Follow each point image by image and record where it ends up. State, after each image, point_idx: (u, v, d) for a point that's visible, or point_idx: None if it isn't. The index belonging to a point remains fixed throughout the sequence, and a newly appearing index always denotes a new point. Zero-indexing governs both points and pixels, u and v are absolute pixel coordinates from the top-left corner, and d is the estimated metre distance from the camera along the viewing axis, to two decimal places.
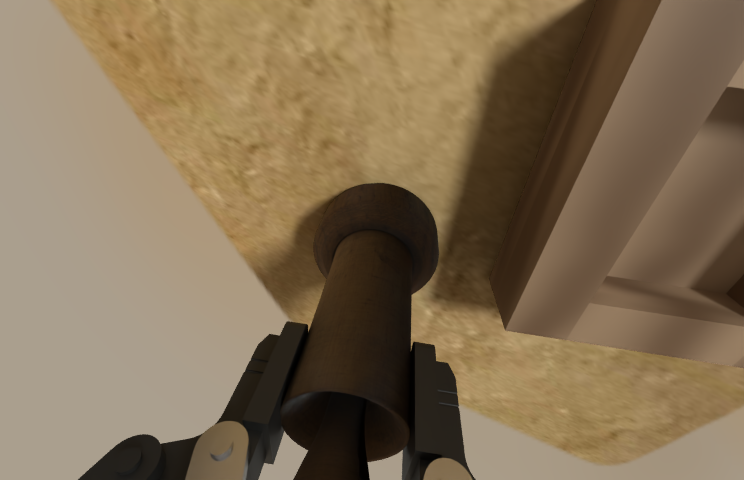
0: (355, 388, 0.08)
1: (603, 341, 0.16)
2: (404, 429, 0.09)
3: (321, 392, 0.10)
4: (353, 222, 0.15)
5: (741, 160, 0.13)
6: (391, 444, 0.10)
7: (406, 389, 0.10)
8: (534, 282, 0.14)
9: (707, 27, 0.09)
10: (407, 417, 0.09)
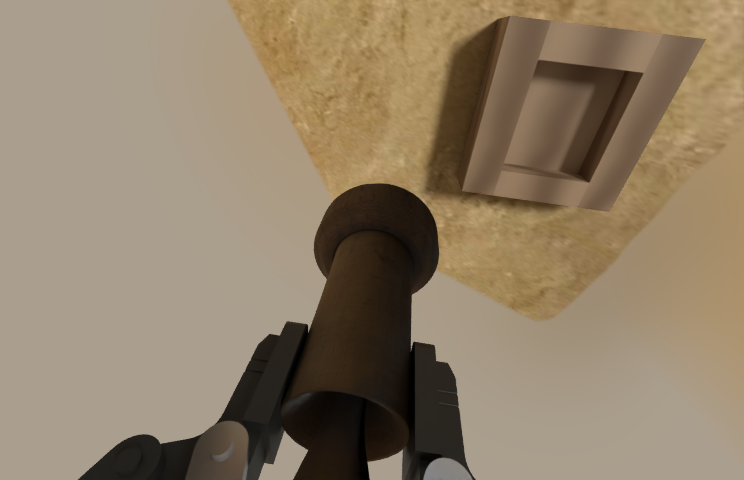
0: (355, 388, 0.08)
1: (511, 194, 0.31)
2: (404, 429, 0.09)
3: (321, 392, 0.11)
4: (353, 222, 0.15)
5: (567, 97, 0.28)
6: (390, 444, 0.10)
7: (406, 389, 0.10)
8: (473, 159, 0.29)
9: (525, 36, 0.24)
10: (407, 417, 0.09)
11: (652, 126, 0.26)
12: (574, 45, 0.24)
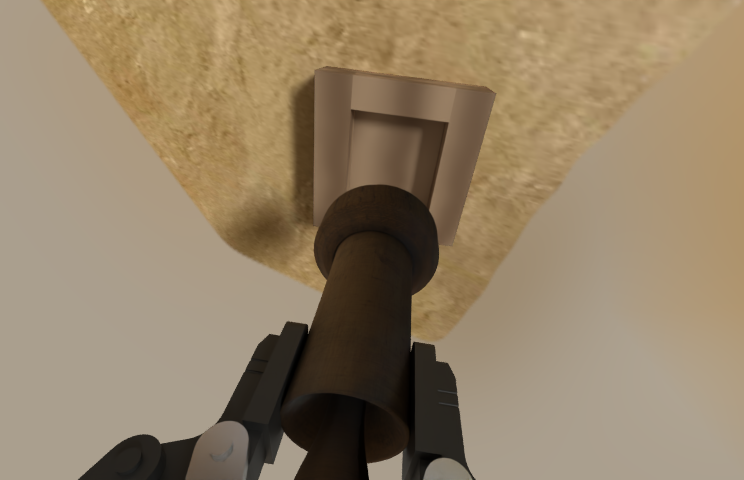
0: (354, 390, 0.08)
1: None
2: (404, 431, 0.09)
3: (321, 393, 0.11)
4: (353, 224, 0.15)
5: (399, 139, 0.29)
6: (390, 446, 0.10)
7: (406, 391, 0.10)
8: (316, 197, 0.31)
9: (333, 88, 0.26)
10: (407, 419, 0.09)
11: (470, 170, 0.28)
12: (379, 97, 0.25)
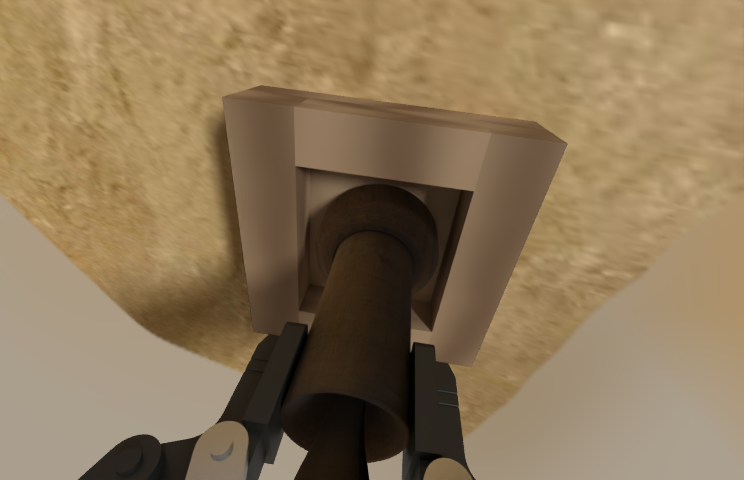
0: (354, 390, 0.08)
1: None
2: (404, 430, 0.09)
3: (321, 393, 0.11)
4: (353, 223, 0.15)
5: None
6: (390, 445, 0.10)
7: (406, 390, 0.10)
8: (252, 295, 0.19)
9: (261, 130, 0.14)
10: (407, 419, 0.09)
11: (508, 266, 0.16)
12: (346, 146, 0.14)
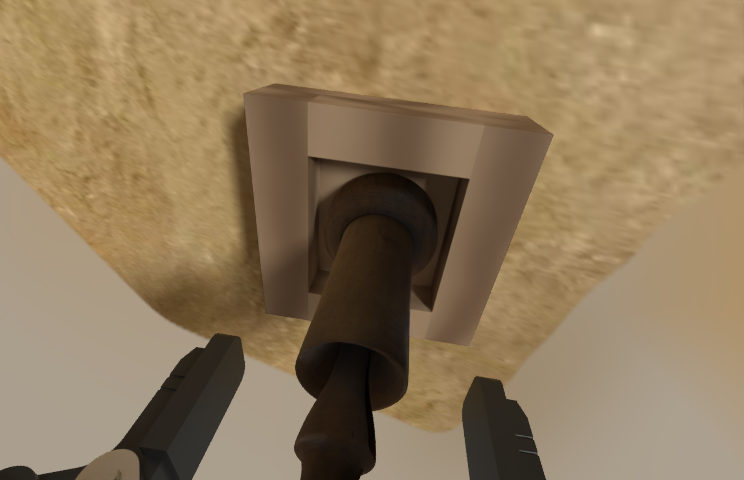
0: (360, 339, 0.10)
1: None
2: (403, 377, 0.10)
3: (331, 351, 0.12)
4: (358, 208, 0.17)
5: None
6: (392, 394, 0.11)
7: (405, 345, 0.11)
8: (266, 277, 0.20)
9: (277, 123, 0.15)
10: (405, 366, 0.10)
11: (501, 248, 0.17)
12: (354, 138, 0.15)
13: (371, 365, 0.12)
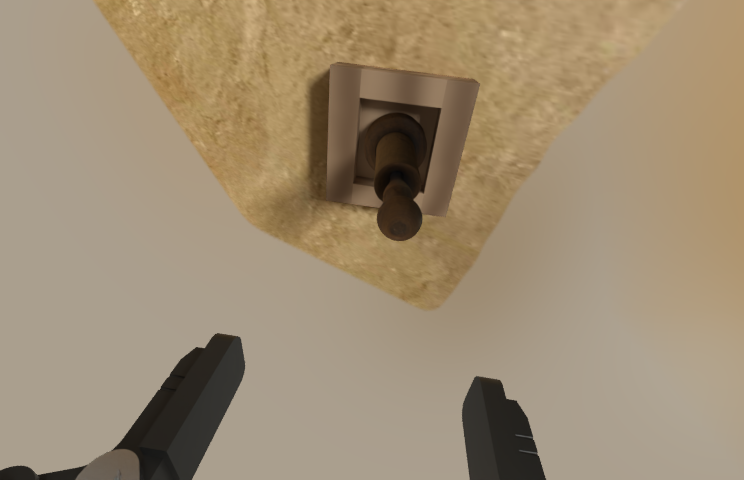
0: (401, 161, 0.25)
1: (366, 203, 0.37)
2: (419, 178, 0.26)
3: (386, 181, 0.27)
4: (384, 129, 0.32)
5: None
6: (415, 192, 0.27)
7: (418, 169, 0.27)
8: (329, 174, 0.36)
9: (345, 80, 0.31)
10: (419, 174, 0.26)
11: (460, 149, 0.33)
12: (383, 87, 0.31)
13: None
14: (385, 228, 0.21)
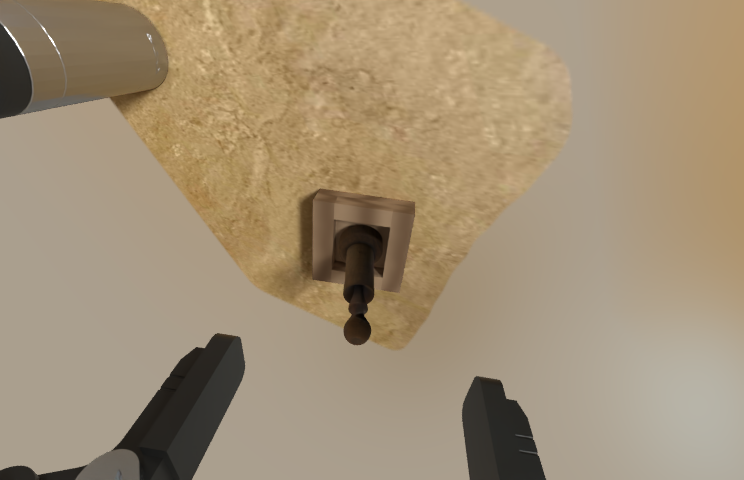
0: (356, 282, 0.39)
1: (341, 282, 0.51)
2: (371, 289, 0.40)
3: (352, 290, 0.41)
4: (348, 243, 0.46)
5: None
6: (371, 295, 0.41)
7: (370, 281, 0.40)
8: (314, 263, 0.50)
9: (323, 209, 0.45)
10: (370, 286, 0.40)
11: (405, 251, 0.47)
12: (350, 214, 0.44)
13: (364, 291, 0.41)
14: (348, 341, 0.35)
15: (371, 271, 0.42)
